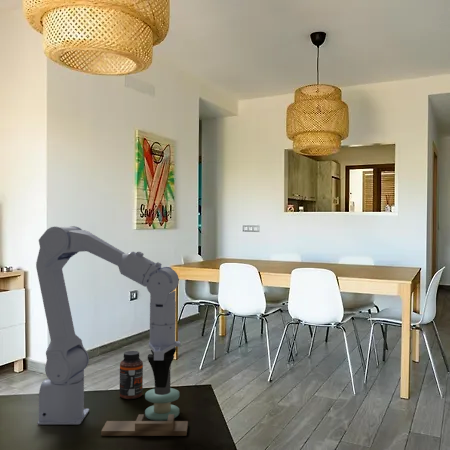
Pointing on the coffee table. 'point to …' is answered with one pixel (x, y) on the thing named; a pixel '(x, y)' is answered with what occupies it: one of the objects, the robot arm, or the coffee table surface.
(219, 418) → the coffee table surface
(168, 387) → the plug
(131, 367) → the supplement bottle
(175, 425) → the board
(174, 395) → the disc
